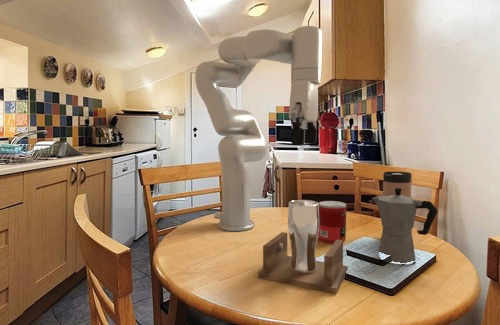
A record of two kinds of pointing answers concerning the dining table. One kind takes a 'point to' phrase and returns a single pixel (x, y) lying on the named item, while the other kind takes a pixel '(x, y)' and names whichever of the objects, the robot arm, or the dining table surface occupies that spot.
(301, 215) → the beer glass
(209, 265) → the dining table surface
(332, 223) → the canned food
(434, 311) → the dining table surface
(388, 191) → the travel mug
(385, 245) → the coffeepot
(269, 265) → the holder
